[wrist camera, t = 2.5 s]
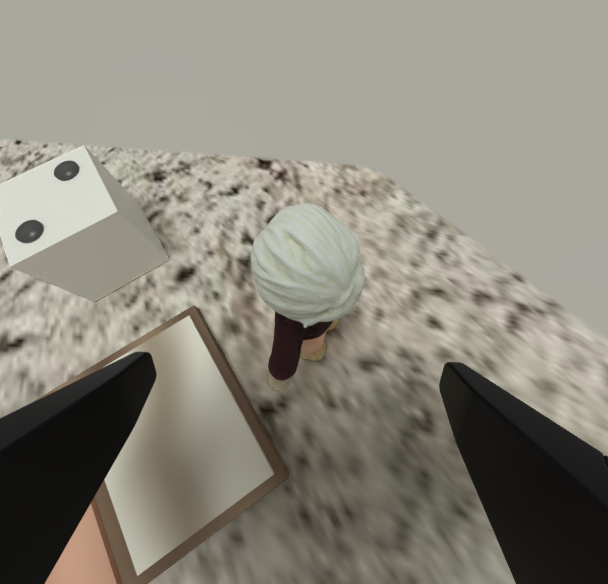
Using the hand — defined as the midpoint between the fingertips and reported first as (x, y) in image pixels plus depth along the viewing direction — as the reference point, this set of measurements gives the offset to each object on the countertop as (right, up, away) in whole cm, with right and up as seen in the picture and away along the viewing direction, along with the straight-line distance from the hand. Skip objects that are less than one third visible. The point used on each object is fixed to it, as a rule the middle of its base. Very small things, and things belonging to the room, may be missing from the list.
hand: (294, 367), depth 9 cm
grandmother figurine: (+1, -1, +10) cm, 11 cm away
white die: (-14, +6, +13) cm, 20 cm away
